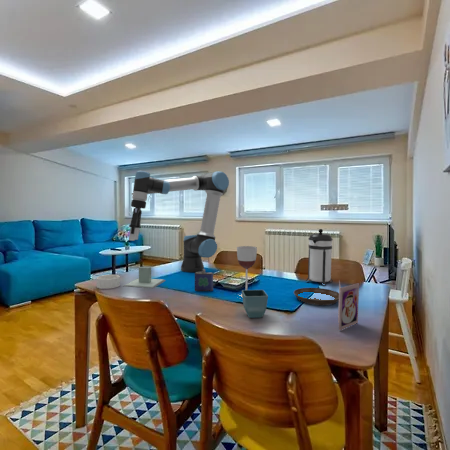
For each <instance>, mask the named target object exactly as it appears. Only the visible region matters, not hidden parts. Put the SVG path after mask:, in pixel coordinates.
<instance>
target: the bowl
mask: <svg viewBox="0 0 450 450" xmlns="http://www.w3.org/2000/svg"><path fill="white" fill-rule="evenodd" d="M120 279H121V277H120V275H118V274H105V275H99V276H96V288H97V289H100V290H101V289H102V290H103V289H104V290H107V289H109V290H111V289H116V288H118V287H120V286H121V280H120Z"/></svg>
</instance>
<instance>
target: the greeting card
mask: <svg viewBox="0 0 450 450" xmlns="http://www.w3.org/2000/svg"><path fill="white" fill-rule="evenodd" d="M338 293H339V300H338V308H337V310H338V311H337V312H338V313H337V315H338V317H337V322H338V323H339V324H338V330H341V331H343V330H342V329H344V328H346V327H349V326H351V325H354V324H356V323H359V300H360V299H359V296H360V294H359V293H360V283H359V282H357V283H354V284H350V285H346V286H342V287H341V281H340V279H339V280H338ZM356 325H357V324H356ZM354 326H355V325H354ZM351 327H352V326H351ZM349 328H350V327H349ZM346 329H347V328H346ZM344 330H345V329H344Z"/></svg>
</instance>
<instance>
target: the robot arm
mask: <svg viewBox="0 0 450 450" xmlns="http://www.w3.org/2000/svg"><path fill="white" fill-rule="evenodd" d="M134 176H135V177H134V182H133V183H134V184H133V190H132V193H131V196H132V197H131V198H132V200H131V203H130V206H131V207H132V208H133V211H132V216H131V221H130V224H129V225H128V227H129V228H130V229H129V235H128V241H135V240H137V241H138V240H139V235H140V234H139V233H140V229H141V228H142V226H141V221H142V220H141V219H142V211H143V210H142V209H146V208H147V202H146V201H148V196H149V195H150V194H153V195H154V194H161V195H168V194H169V192H170V193H171V192H180V191H188V190H189V191H190V190H193V191H196V192H197V191H204V192H205V193H206V198H205V204H204V209H203V214H202V219H201V225H200V230H199V232H197V233H196V234H191V235H184V237H183V259H182V262H181V265H180V271H182V272H184V273H196V272H198V271H199V272H202V271H203V269H205V265H204V262H203V259H202V258H205V259H207V258H211V257H213V256H214V255H215V254H216V253H217V250H218V243H217V241H216V236H215V234H214V233H215V229H216V228H215V227H216V224H217V223H216V222H217V218H218V214H219V213H218V211H219V207H220V203H221V202H220V201H221V197H222V196H224V192H225V190H227V188H229V185H230V180H229V177H228V175H227V174H226V173H225V172H223V171H218V170H217V171H213V172H206V173H203V174H199V175H192V176H191V177H182V178H171V179H169V178H168V179H159V178H154V177H151V173H150V172H148V171H144V170H137V171H136V172H135V175H134Z"/></svg>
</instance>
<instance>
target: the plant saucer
mask: <svg viewBox="0 0 450 450" xmlns="http://www.w3.org/2000/svg"><path fill="white" fill-rule="evenodd" d="M303 292H314V293H321V294H326V295H330V296H332V297H334V298H335V299H334V300H321V299H320V300H319V299H316V298H314V299H311V298H310V299H307V298H303V297H300V296H298V294H300V293H303ZM293 294H294V296H295V297H296V298H297V299H298V300H299V301H300V300H301V301H300V302H302V301H303V302H302V303H304V302H305V304H307V303H308V305H312V304H313V306H331V305H334V304H336V303H337V302H339V291H338V292H337V291H336V290H332V289H329V288H320V287H301V288H297V289H295V290H293ZM330 304H331V305H330Z"/></svg>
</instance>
